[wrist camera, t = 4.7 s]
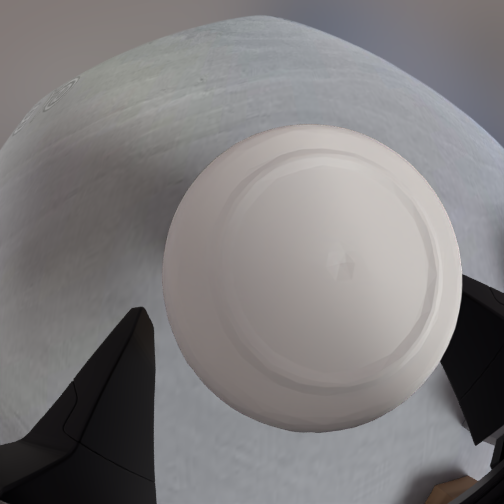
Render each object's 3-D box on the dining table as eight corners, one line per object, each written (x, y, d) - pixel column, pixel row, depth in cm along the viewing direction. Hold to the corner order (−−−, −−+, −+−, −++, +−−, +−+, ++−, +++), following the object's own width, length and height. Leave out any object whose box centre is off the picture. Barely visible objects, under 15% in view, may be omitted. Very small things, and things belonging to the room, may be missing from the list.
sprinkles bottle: (266, 252, 17) (319, 75, 4) (319, 305, 16) (502, 261, 3) (212, 304, 16) (87, 257, 3) (265, 359, 16) (331, 495, 2)
